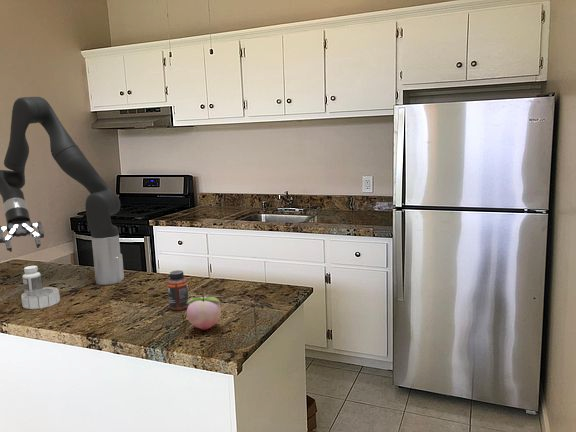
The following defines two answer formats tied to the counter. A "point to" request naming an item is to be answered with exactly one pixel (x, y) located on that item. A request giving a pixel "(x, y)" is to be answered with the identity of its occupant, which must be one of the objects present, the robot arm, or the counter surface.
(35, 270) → the pill bottle
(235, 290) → the counter surface
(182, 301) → the supplement bottle
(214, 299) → the decorative fruit
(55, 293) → the ring collar
